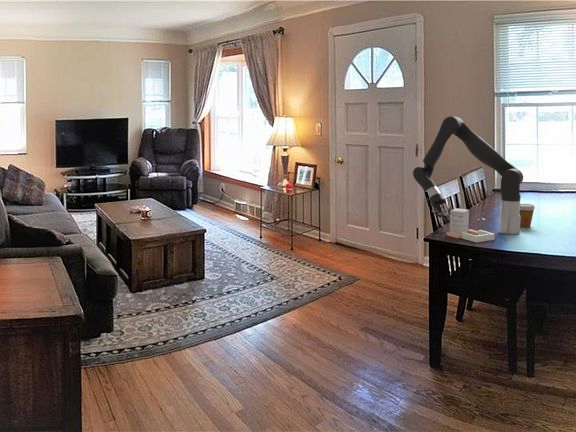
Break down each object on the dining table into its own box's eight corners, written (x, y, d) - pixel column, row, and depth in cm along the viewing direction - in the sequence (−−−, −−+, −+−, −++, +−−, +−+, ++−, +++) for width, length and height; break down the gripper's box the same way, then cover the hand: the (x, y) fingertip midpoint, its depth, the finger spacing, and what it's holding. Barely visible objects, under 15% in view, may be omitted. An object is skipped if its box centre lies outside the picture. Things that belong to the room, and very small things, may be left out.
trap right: (481, 235, 284) (481, 232, 283) (477, 235, 282) (477, 232, 282) (470, 232, 291) (470, 229, 290) (466, 232, 289) (466, 229, 289)
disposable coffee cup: (536, 226, 302) (537, 204, 300) (529, 229, 296) (531, 207, 293) (518, 224, 309) (520, 202, 307) (511, 226, 302) (513, 205, 300)
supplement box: (454, 231, 292) (455, 208, 290) (468, 233, 288) (469, 209, 285) (449, 234, 287) (450, 210, 284) (462, 235, 282) (464, 211, 280)
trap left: (462, 237, 278) (462, 234, 278) (457, 238, 277) (457, 235, 277) (451, 234, 285) (451, 231, 285) (446, 235, 284) (446, 232, 284)
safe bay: (494, 239, 273) (494, 233, 273) (476, 242, 268) (476, 236, 268) (479, 235, 282) (479, 229, 282) (461, 238, 277) (461, 232, 277)
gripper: (428, 193, 296) (443, 220, 288) (447, 191, 302) (462, 217, 293) (421, 202, 302) (435, 228, 293) (440, 200, 307) (455, 225, 299)
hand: (449, 222), depth 293 cm, fingers closed
